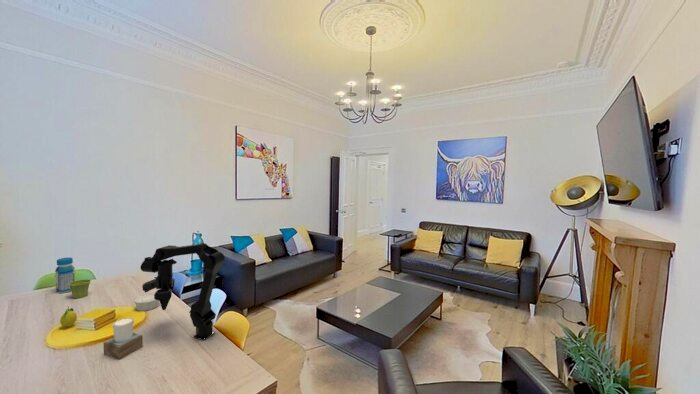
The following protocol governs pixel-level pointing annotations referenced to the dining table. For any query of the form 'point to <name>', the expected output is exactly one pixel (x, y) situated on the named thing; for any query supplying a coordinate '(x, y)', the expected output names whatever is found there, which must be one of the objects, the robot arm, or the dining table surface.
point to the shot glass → (123, 329)
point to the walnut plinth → (123, 346)
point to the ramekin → (146, 302)
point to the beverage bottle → (64, 275)
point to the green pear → (68, 317)
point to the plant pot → (79, 288)
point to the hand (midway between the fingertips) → (165, 305)
